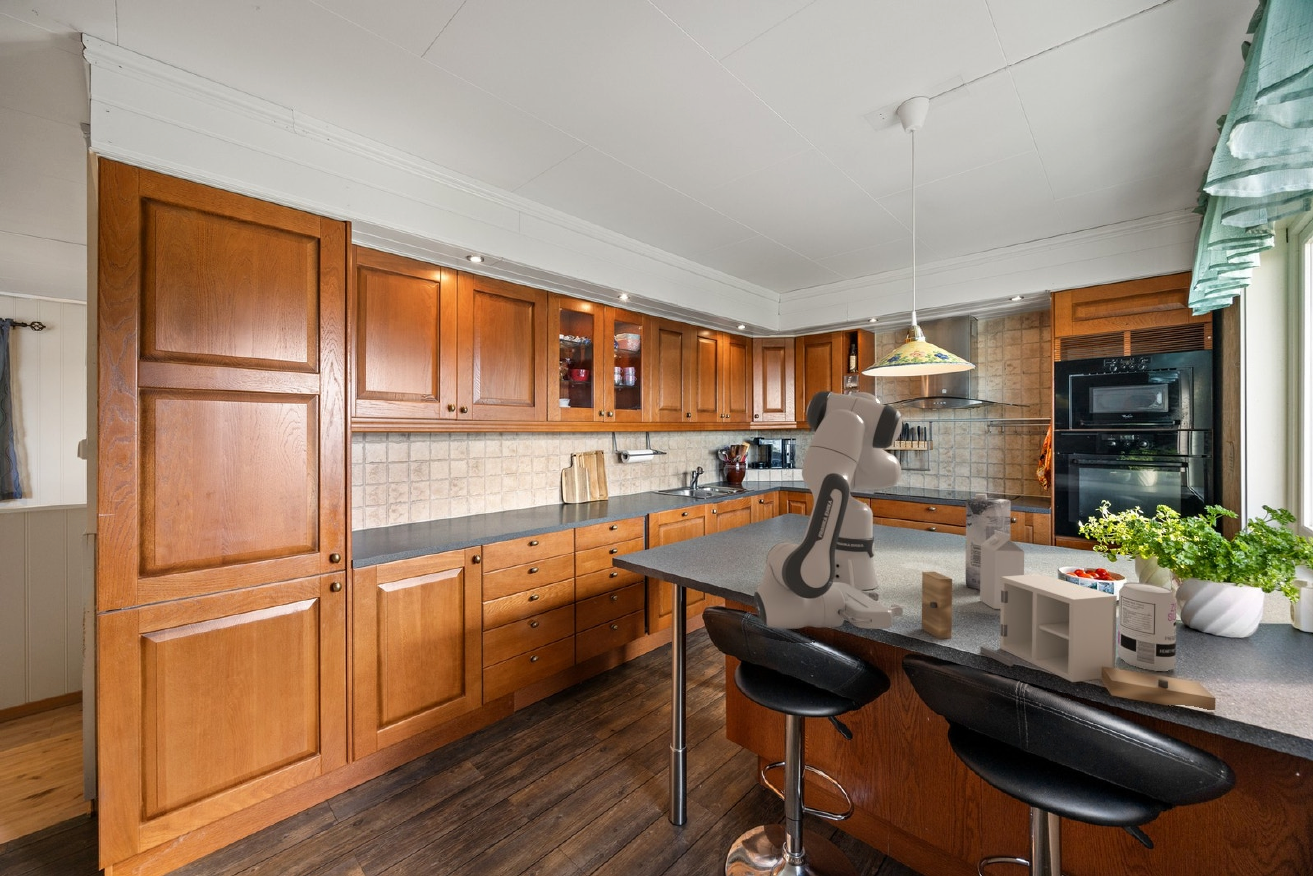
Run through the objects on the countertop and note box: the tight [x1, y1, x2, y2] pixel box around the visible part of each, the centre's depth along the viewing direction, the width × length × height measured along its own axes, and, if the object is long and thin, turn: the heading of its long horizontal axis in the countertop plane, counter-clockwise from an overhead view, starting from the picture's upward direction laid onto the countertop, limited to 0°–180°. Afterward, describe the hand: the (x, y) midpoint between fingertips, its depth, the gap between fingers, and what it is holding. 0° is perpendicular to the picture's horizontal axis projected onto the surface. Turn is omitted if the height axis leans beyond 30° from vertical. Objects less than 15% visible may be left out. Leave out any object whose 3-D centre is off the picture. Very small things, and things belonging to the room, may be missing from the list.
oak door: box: [921, 571, 953, 640], centre depth 119 cm, size 4×6×13 cm, turn 7°
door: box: [1101, 667, 1216, 711], centre depth 91 cm, size 13×6×4 cm, turn 63°
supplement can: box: [1117, 581, 1178, 671], centre depth 104 cm, size 8×8×15 cm
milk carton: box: [979, 530, 1025, 610], centre depth 138 cm, size 7×7×19 cm
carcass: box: [979, 573, 1118, 683], centre depth 104 cm, size 16×15×15 cm
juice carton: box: [964, 493, 1012, 591], centre depth 153 cm, size 9×10×27 cm
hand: (888, 603), depth 118 cm, fingers open, 8 cm apart
